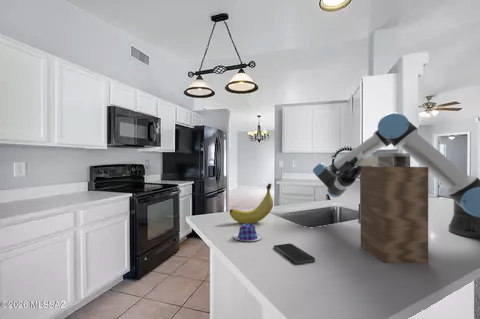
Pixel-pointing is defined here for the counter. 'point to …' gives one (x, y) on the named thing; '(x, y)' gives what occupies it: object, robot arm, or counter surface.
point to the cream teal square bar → (368, 161)
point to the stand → (395, 210)
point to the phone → (294, 254)
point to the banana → (257, 212)
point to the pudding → (247, 233)
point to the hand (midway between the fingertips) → (367, 154)
